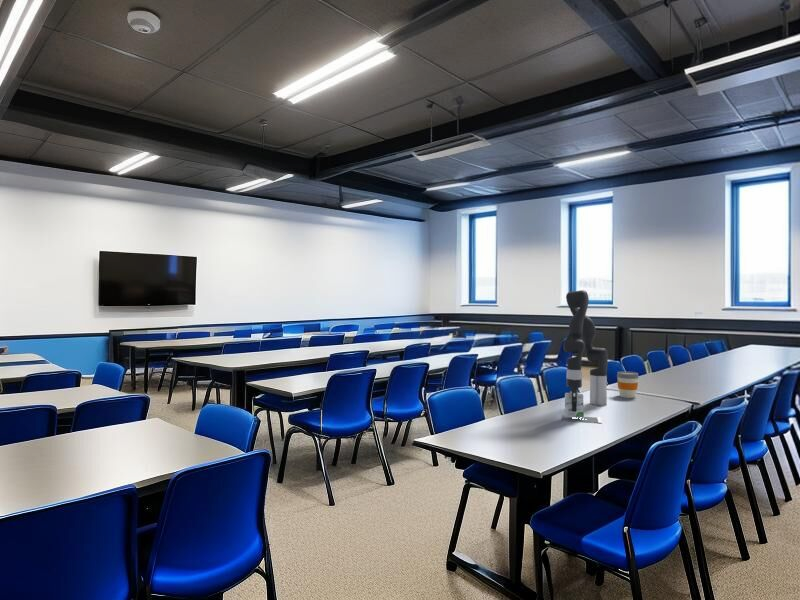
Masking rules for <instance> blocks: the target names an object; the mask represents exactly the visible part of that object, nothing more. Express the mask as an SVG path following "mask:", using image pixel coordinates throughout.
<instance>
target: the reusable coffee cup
mask: <svg viewBox="0 0 800 600" xmlns="http://www.w3.org/2000/svg"><path fill="white" fill-rule="evenodd" d="M616 377H617V382H616V383H617V389H618V390H619V391H618V392H619V397H621V398H627V399H634V398H636V393H637V390H638V385H639V381H638V380H639V373H638V372H634V371H625V370H624V371H617V373H616Z"/></svg>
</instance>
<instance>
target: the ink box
mask: <svg viewBox="0 0 800 600" xmlns="http://www.w3.org/2000/svg"><path fill="white" fill-rule="evenodd" d="M571 396H572V394H570V392H565V393H564V415H566V416H567V417H585V415H584V412H585V411H584V394H583V393H582V392H578V400H577V404H576V405H577V411H576V412H573V411H572V403H571V402H572V400H571ZM573 401H575V402H576V400H573Z"/></svg>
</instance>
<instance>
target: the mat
mask: <svg viewBox="0 0 800 600" xmlns="http://www.w3.org/2000/svg"><path fill="white" fill-rule="evenodd" d="M576 418H577V417H576ZM579 418H580V417H578V419H572V417H567V416H566V415H565V414H562V415H561V421H562V420H565V421H564V422H574V421H581V422H580V423H588V422H594V423H593V424H603V423H602V418H601V417H600V416H598V417H593V416H584V417H582V418H581V420H580V419H579ZM583 418H584V420H582V419H583ZM585 419H587V420H585Z"/></svg>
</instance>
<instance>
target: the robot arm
mask: <svg viewBox="0 0 800 600" xmlns="http://www.w3.org/2000/svg"><path fill="white" fill-rule="evenodd" d="M565 299H566V300H565V301H566V304H567V306H568V307H569V310H570V312H571V314H572V317H571V320H570V321H569V323H568V332H567V335H566V338H565V340H564V342H563V346H562V348H563V349H562V350H564V352H565V353H566V354H567V353H568V354H577V355H576V356H573V357H572V356H571V357H567V359H566V388H571V389H570V390H569V393H570V394H572V396H571V400H572V402H571V403H572V411H573V412H576V411H577V405H576V404H577V400H578V393H579V390H578V389H580V388H582V386H583V385H582V384H583V383H582V382H583V380H582V379H583V376H582V375H583V373H582V360H583V358H582V357H583V355H584V351H585V356H586V359H587V361H588V362H589V363H591V364H597V365H598V367H596V368H593V369H590V370H589V404H590V405H592V404H593V406H600V405H602V406H607V402H608V401H607V399H608V396H607V394H608V391H607V389H608V387H607V385H608V383H607V382H608V381H607V380H608V378H607V377H608V375H607V373H608V363H609V362H608V361H609V353H608V350H607V349H606V348H603V347H594V346H593V341H594V339H595V337H596V335H597V328H596V326H595V323H594V321H593V319H591V318H590V317H589V316H588V315H586V314H587V310H588V307H589V301H590V300H589V294H588V292H587V290H583V289H581V290H574V291H569V292H567V293H566V296H565ZM573 400H576V402H575V401H573Z"/></svg>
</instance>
